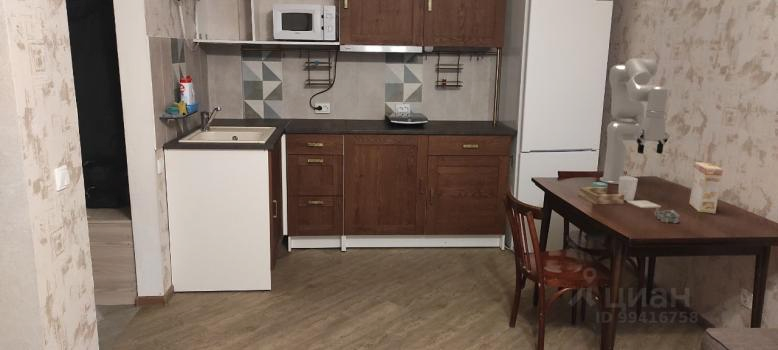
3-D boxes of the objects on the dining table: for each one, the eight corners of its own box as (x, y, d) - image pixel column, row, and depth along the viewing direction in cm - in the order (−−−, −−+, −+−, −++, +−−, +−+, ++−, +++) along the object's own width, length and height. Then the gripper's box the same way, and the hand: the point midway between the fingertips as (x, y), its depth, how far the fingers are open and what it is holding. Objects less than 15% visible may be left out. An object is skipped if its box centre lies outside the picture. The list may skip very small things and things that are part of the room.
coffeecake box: (716, 213, 257) (723, 169, 253) (698, 212, 258) (705, 168, 254) (705, 204, 271) (712, 162, 267) (688, 203, 272) (695, 161, 268)
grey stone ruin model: (652, 215, 250) (653, 206, 249) (671, 217, 249) (672, 207, 249) (660, 222, 240) (662, 213, 239) (680, 224, 239) (681, 214, 238)
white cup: (632, 197, 279) (634, 176, 277) (637, 201, 271) (640, 180, 269) (614, 196, 279) (617, 175, 277) (619, 200, 272) (622, 179, 270)
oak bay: (604, 195, 281) (605, 187, 280) (623, 203, 267) (624, 194, 266) (578, 196, 277) (579, 187, 276) (596, 204, 264) (597, 195, 263)
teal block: (598, 192, 287) (599, 181, 286) (606, 194, 283) (607, 184, 282) (590, 192, 285) (592, 182, 284) (599, 195, 281) (600, 185, 280)
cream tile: (646, 201, 272) (646, 200, 272) (660, 207, 263) (660, 206, 263) (626, 202, 270) (627, 200, 270) (641, 208, 260) (641, 206, 260)
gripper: (666, 114, 268) (660, 151, 272) (632, 113, 264) (627, 151, 268) (677, 116, 261) (672, 154, 265) (643, 115, 257) (638, 154, 261)
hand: (649, 153), depth 266 cm, fingers open, 9 cm apart
